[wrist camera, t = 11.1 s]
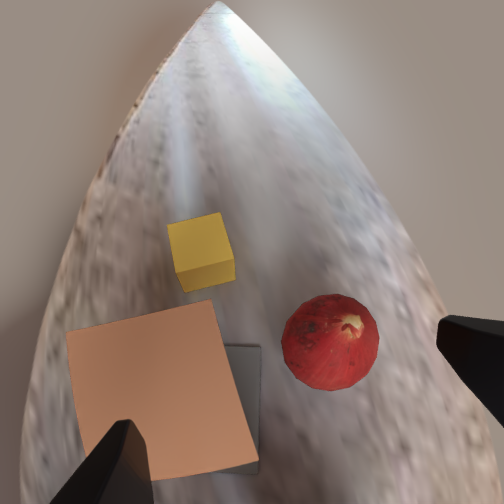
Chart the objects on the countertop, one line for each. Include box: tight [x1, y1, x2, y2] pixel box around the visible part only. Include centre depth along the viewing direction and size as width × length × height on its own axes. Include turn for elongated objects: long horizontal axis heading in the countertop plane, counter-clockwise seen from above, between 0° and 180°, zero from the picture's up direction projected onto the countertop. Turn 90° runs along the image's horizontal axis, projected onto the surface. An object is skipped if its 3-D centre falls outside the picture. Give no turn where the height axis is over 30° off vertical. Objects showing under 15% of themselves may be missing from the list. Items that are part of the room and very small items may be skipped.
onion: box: [281, 294, 379, 391], centre depth 17 cm, size 6×6×8 cm
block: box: [167, 212, 236, 293], centre depth 23 cm, size 4×4×4 cm
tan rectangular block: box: [66, 299, 259, 481], centre depth 14 cm, size 6×6×10 cm
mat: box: [212, 346, 261, 474], centre depth 19 cm, size 9×9×1 cm
